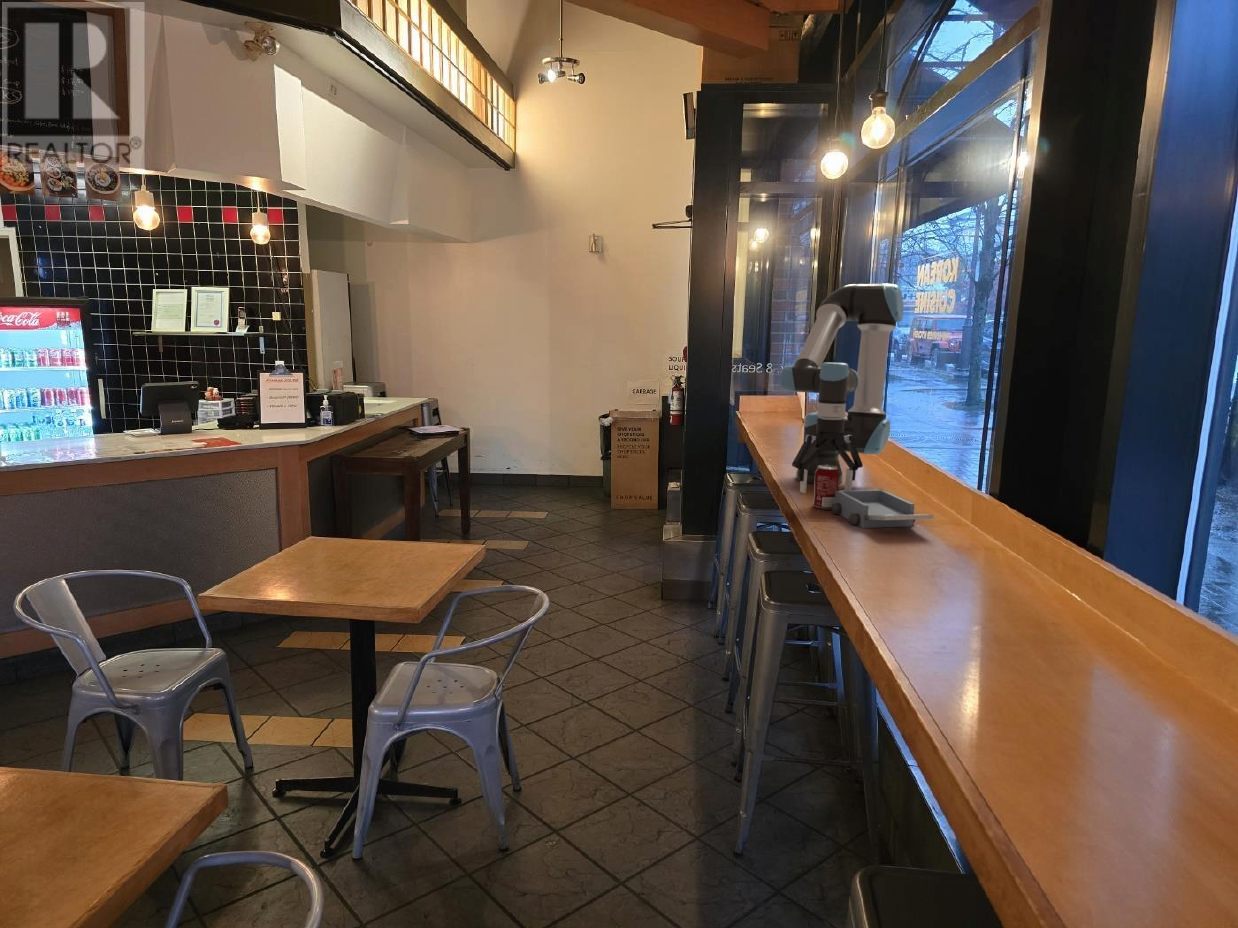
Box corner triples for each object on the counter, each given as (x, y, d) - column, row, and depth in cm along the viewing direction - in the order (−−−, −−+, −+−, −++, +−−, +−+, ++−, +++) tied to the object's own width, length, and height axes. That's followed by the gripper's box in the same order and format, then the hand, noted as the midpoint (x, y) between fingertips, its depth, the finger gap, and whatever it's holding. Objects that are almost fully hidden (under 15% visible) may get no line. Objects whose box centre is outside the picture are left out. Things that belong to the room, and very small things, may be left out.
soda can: (837, 511, 208) (840, 469, 206) (813, 509, 210) (815, 468, 207) (835, 505, 215) (838, 465, 213) (812, 504, 216) (814, 464, 214)
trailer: (828, 511, 208) (830, 490, 207) (885, 509, 211) (887, 489, 210) (856, 528, 192) (858, 505, 191) (918, 525, 195) (920, 503, 193)
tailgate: (864, 515, 191) (883, 515, 182) (913, 513, 193) (934, 514, 184) (864, 519, 191) (883, 520, 182) (913, 518, 193) (934, 519, 184)
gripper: (793, 419, 202) (788, 495, 206) (879, 419, 206) (872, 494, 209) (783, 416, 209) (778, 489, 213) (866, 416, 213) (860, 488, 217)
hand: (825, 492), depth 211 cm, fingers open, 13 cm apart
